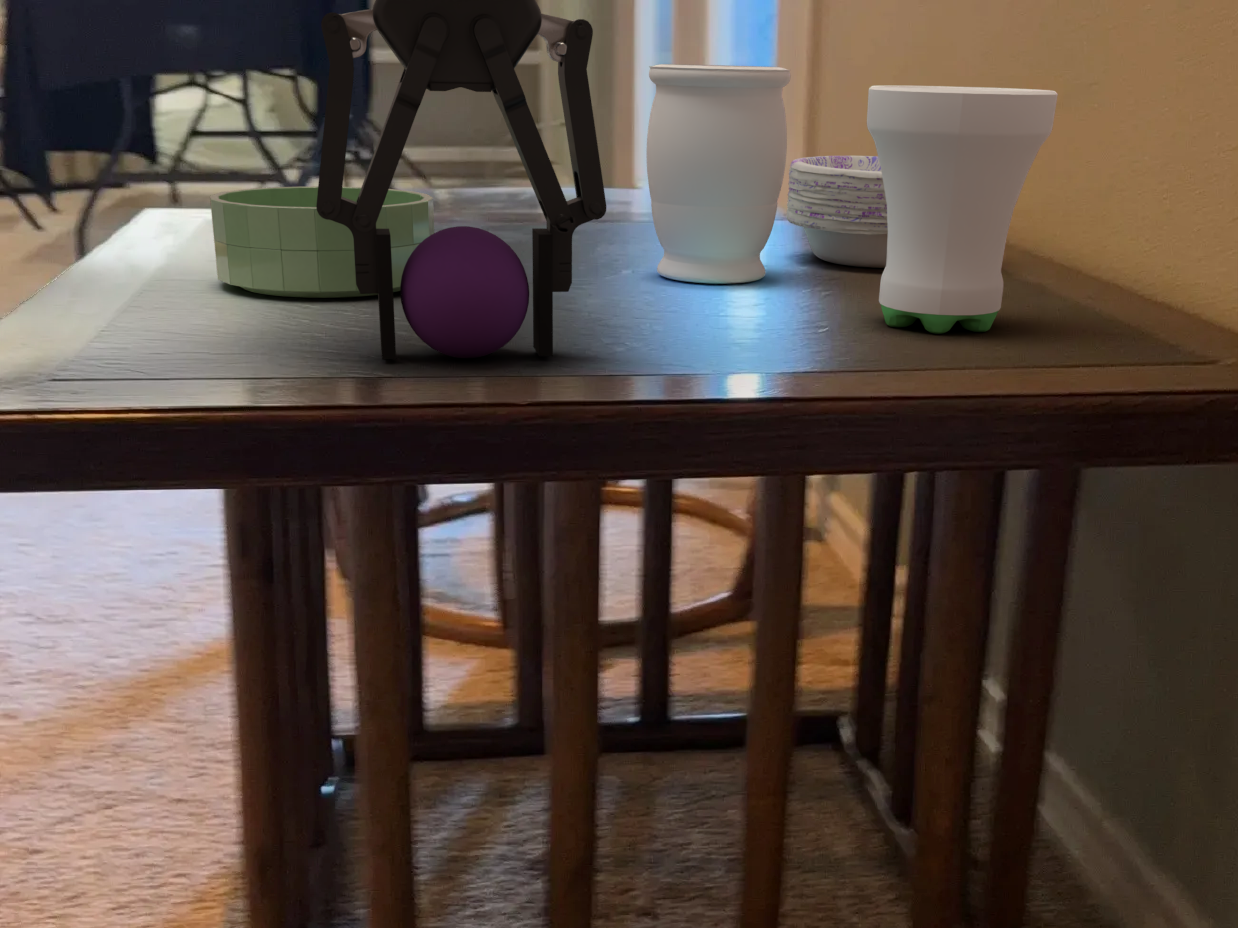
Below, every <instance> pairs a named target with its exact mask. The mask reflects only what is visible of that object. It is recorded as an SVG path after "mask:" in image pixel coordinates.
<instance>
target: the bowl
mask: <svg viewBox="0 0 1238 928" xmlns="http://www.w3.org/2000/svg"><path fill="white" fill-rule="evenodd" d="M361 188H362V186H342V197H344V198H347V199H350V200H352V201H355V202H356V201H357V199H358V196H359V193H360V190H361ZM317 194H318V186H276V187H258V188H257V187H256V188H243V189H234V190H227V191H221V192H217V193H214V194H211V195H209V202H210V213H211V223H212V224H211V225H212V235H213V245H214V256H215V257H214V258H215V266H216V275H217V276H216V277H217V280H218V281H220V282H223V283H225V284H227V285H229V286H235V287H239V288H241V289H243V290H244V291H247V292H250V293H254V294H259V295H260V294H261V295H267V296H274V297H285V298H286V297H288V298H305V299H307V298H308V299H311V298H312V299H331V298H333V299H334V298H335V299H336V298H338V299H339V298H359V297H370V296H372V297H373V296H378V294H360V292H359V290H358V287H357V285H356V274H355V256H354V239H353V235H352V232H351V231H350V229H349V228H348V227H346V226H345V225H343V224H340V223H337V222H334V221H332V220H326V219H324V218H322V217H321V216H320V215H319V214H318V212H317V207H316V205H317ZM434 210H435V209H434V197H432V195H429V194H427V193H423V192H418V191H413V190H406V189H405V190H404V189H395V188H389V190H388V192H387V195H386V198H385V200H384V203H383V206H382V209H381V211H380V214H379V217H378V219H377V222H376V229H389V231H390V236H391V258H392V279H393V293H399V292H400V285H401V278H402V274H403V270H404V267H405V265H406V262H407V260H408V258H409V257H410V255H411V253H412V252H413V251H414V250H415V248H416V247H417V246H418V245H419V244H420V243H421V242H422V241H423V240H424V239H426V238H427V237H429V236H430V235H432V234H434V233H435V211H434Z"/></svg>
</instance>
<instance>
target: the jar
mask: <svg viewBox="0 0 1238 928" xmlns="http://www.w3.org/2000/svg"><path fill="white" fill-rule="evenodd" d="M648 67H649V71H648V77H649V80H650V81H651V82H652V83H653V84H655V94H654V97H653V100H652V103H651V108H650V112H649V118H648V119H649V120H648V127H647V136H646V173H647V180H648V181H647V182H648V183H647V184H648V190H649V196H650V206H651V207H650V208H651V216H652V221H653V226H654V231H655V234H656V236H657V239H658V242H659V245H660V246H661V247H662V249H663V256H662V258H661V260H660V261H659V262H658V263H657V267H656V272H657V273H658V275H660V276H662V277H664V278H667V279H670V280H675V281H679V282H686V283H687V282H688V283H695V284H696V283H699V284H714V285H715V284H722V285H723V284H726V285H727V284H742V283H750V282H755V281H758V280H761V279H763V278H765V276H766V268H765V266H764V264H763V262H762V260H761V253H762V251H763V250H764V249H765V247H766V244H767V243H768V241H769V238H770V236H771V234H772V231H773V227H774V224H775V220H776V216H777V210H778V200H779V198H780V193H781V191H782V186H783V182H784V176H785V171H786V163H787V149H788V131H787V130H788V129H787V116H786V109H785V102H784V99H783V90H784V87H786V86H788V84H789V83H790V81H791V76H792V75H791V72H790V71H791V69H787V68H785V67H781V66H763V65H762V66H759V65H758V66H757V65H756V66H755V65H721V64H680V63H679V64H677V63H674V64H673V63H672V64H671V63H670V64H669V63H668V64H667V63H662V64H661V63H660V64H655V65H649V66H648Z"/></svg>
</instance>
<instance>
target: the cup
mask: <svg viewBox="0 0 1238 928" xmlns="http://www.w3.org/2000/svg"><path fill="white" fill-rule="evenodd" d="M1058 96H1059V94H1058V92H1056V90H1052V89H1034V88H1014V87H1013V88H1012V87H1011V88H1010V87H988V86H987V87H983V86H951V85H950V86H947V85H899V84H897V85H893V84H892V85H891V84H890V85H886V84H885V85H884V84H883V85H879V84H877V85H871V86H869V88H868V95H867V110H866V111H867V112H866V127H867V130H868V132H869V134H870V136H871V138H872V140H873V141H874V145H875V151H876V154H877V156H878V158H879V162H880V166H881V172H882V178H883V184H884V190H885V196H886V202H887V223H888V239H887V261H886V267H885V268H883V271H882V273H881V277H880V281H879V282H880V285H879V293H878V303H879V304H880V307H881V311H882V314H883V315H882V316H883V318H884V322H885V324H886V325H887V326H889V327H891V328H907V327H910V326H911V325H913V324H914V323H915V322H916V321H917V320H918V319H919V320H920V322H921V324H922V326H923V327H924V329H925V330H926V331H927V332H929V333H930V334H935V335H942V334H945V333H947V332H950V331H951V329H952V328H953V327H954V325H955V324H956V323H957V322H959V325H961V327H962V328H963V329H965V330H966V331H969V332H975V333H985V332H988V331H989V330H990V329H991V327H992V325H993V323H994V321H995V319H996V318H997V316H998V314H999V311H1000V310H1001V308H1002V301H1003V294H1004V278H1003V275H1002V274H1003V273H1002V267H1003V261H1004V256H1005V255H1004V254H1005V249H1006V244H1007V243H1006V242H1007V237H1008V234H1009V230H1010V226H1011V222H1012V217H1013V215H1014V210H1015V207H1016V205H1017V203H1018V199H1019V197H1020V195H1021V192H1022V190H1023V187H1024V184H1025V182H1026V179H1027V177H1028V175H1029V171H1030V170H1031V167H1032V166H1033V163H1034V162H1035V159H1036V157H1037V155H1038V153H1039V151H1040V149H1041V147H1042V146H1043V145H1044V144H1045V142H1046V141H1047V140H1048V138H1049V137H1050V135H1051V134H1052V131H1053V129H1054V128H1053V127H1054V121H1055V115H1056V109H1057V102H1058Z"/></svg>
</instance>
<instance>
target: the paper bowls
mask: <svg viewBox="0 0 1238 928" xmlns="http://www.w3.org/2000/svg"><path fill="white" fill-rule="evenodd" d="M786 207H787V209H786V220H787V221H788V223H790V224H792V225H795V226H797V227H802V228H803V230H804V232H805V236H806V239H807V242H808V244H809V247H810V249H811V251H812V253H813V254H814V255H815V256H816V257H817V258H818V259H820V260H822V261H825V262H827V263H832V264H836V265H842V266H847V267H848V266H849V267H857V268H870V269H871V268H874V269H875V268H877V269H885V267H886V261H887V239H888V223H887V202H886V196H885V190H884V184H883V178H882V172H881V166H880V162H879V158H878V155H817V156H806V157H798V158H795V159H793V160H791V162H790V164H789V169H788V192H787V203H786Z"/></svg>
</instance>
